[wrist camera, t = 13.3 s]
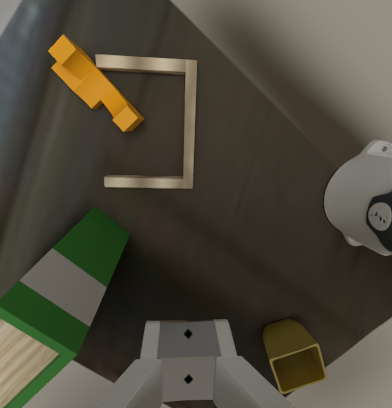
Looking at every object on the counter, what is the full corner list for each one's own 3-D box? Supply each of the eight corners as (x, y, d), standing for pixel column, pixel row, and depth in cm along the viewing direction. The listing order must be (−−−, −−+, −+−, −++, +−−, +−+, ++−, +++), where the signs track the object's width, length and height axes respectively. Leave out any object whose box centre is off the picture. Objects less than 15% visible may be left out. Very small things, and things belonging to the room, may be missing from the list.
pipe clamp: (62, 72, 36) (38, 61, 30) (83, 50, 35) (63, 34, 29) (124, 138, 39) (113, 141, 33) (144, 119, 38) (138, 117, 32)
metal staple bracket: (196, 63, 36) (197, 60, 35) (191, 185, 42) (192, 188, 40) (99, 58, 35) (95, 54, 34) (108, 184, 41) (104, 186, 39)
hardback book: (66, 298, 46) (-42, 466, 24) (31, 275, 45) (-123, 432, 22) (130, 234, 44) (77, 354, 21) (95, 206, 42) (-5, 304, 19)
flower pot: (295, 306, 51) (319, 343, 42) (304, 338, 53) (328, 380, 45) (253, 320, 51) (268, 360, 42) (264, 352, 54) (280, 395, 45)
